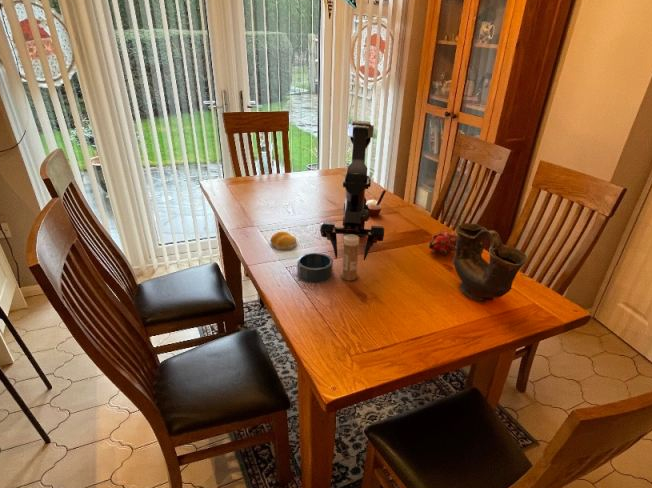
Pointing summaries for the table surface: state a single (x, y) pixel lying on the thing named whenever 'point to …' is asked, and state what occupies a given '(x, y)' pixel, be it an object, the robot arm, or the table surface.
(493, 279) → the pottery vessel
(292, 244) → the bread roll
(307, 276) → the bowl
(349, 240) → the spice jar
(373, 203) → the cocoa
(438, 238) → the dragon fruit
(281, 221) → the table surface
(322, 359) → the table surface
